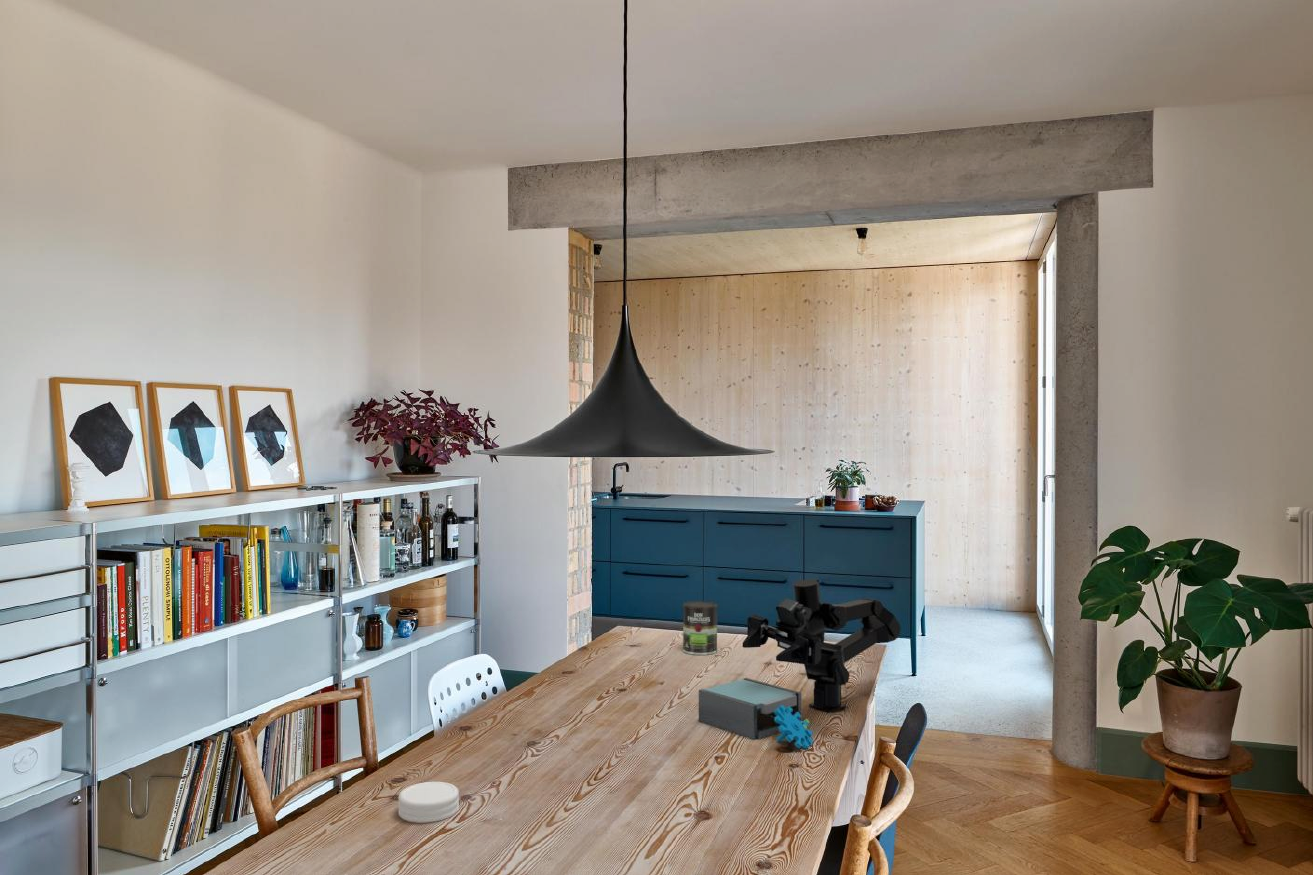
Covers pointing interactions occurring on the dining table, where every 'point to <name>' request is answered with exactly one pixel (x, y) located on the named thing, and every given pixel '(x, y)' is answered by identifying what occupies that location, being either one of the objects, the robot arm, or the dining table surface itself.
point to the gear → (793, 727)
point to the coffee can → (700, 627)
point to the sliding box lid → (756, 694)
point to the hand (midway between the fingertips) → (759, 651)
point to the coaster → (428, 802)
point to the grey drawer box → (738, 713)
